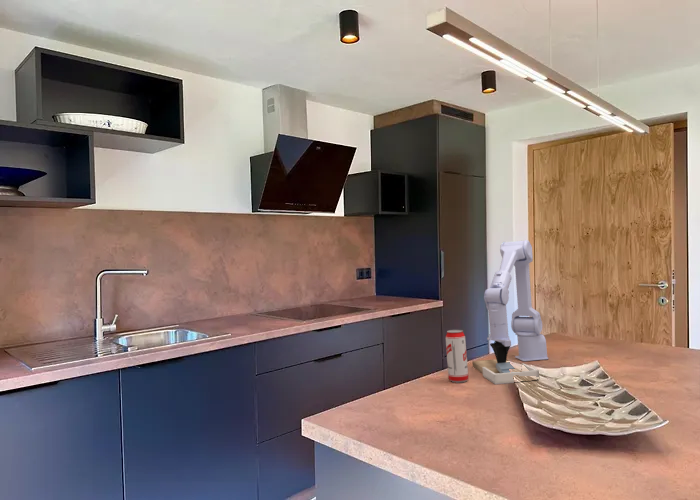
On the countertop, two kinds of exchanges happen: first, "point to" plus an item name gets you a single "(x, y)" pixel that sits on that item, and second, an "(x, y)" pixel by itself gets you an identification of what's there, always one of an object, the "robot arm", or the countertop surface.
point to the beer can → (456, 356)
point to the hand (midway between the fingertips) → (501, 364)
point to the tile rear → (504, 366)
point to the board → (486, 365)
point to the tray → (508, 375)
